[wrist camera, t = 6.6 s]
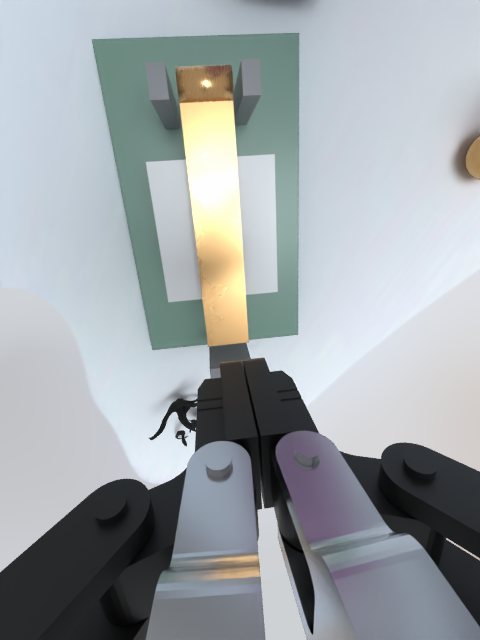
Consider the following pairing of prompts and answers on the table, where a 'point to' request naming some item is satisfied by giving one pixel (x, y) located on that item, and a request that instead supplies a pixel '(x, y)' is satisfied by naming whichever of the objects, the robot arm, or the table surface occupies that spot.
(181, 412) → the creature
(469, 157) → the figurine
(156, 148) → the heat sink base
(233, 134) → the strap
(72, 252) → the table surface
